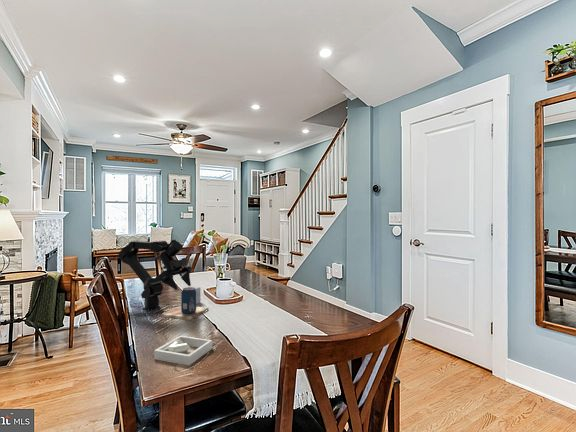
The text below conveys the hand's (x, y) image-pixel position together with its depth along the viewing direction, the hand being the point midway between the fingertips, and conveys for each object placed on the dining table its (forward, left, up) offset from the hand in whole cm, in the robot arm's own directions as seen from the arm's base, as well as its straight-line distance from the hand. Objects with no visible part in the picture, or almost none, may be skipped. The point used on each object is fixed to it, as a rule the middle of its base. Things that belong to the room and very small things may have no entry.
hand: (183, 287), depth 157 cm
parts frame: (+28, -37, -13) cm, 49 cm away
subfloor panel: (0, +2, -13) cm, 13 cm away
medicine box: (-8, +19, -14) cm, 24 cm away
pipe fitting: (+26, -39, -14) cm, 48 cm away
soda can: (+4, -1, -12) cm, 13 cm away
